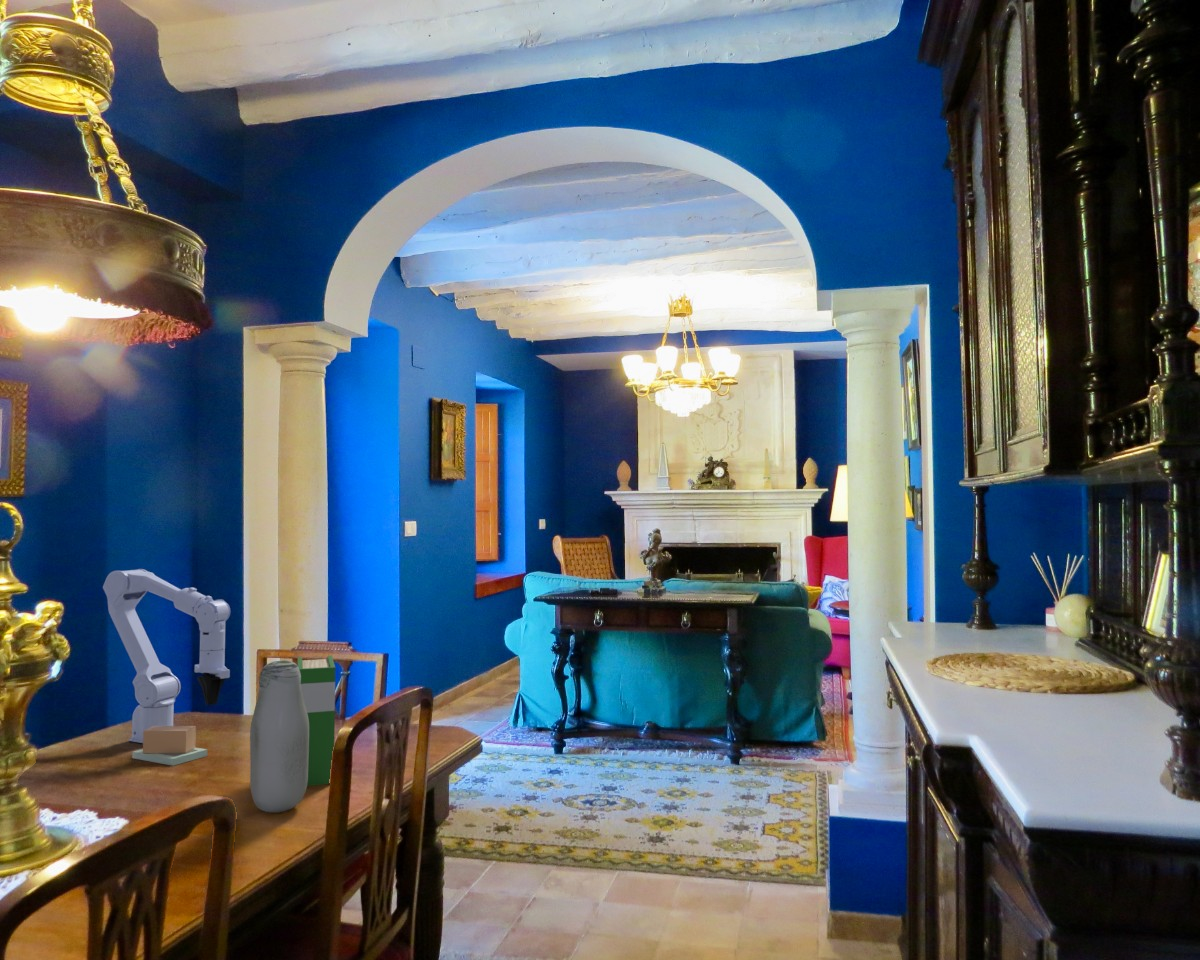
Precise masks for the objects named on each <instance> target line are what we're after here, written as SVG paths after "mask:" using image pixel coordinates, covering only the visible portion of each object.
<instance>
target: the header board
mask: <svg viewBox="0 0 1200 960" xmlns="http://www.w3.org/2000/svg"><path fill="white" fill-rule="evenodd" d="M131 757H132V758H131V759H133V760H135V759H136V760H140V761H147V762H151V763H157V764H162V765H167V766H177V765H180V764H184V763H187V762H191V761H196V760H198V759H201V758H205V757H208V749H207V748H200V747H196V746H195V748H193V749H192V750H190V751H188V752H186V753H143V748H142V749H137V750H134V751H132V756H131Z"/></svg>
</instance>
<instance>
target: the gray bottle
mask: <svg viewBox="0 0 1200 960" xmlns="http://www.w3.org/2000/svg"><path fill="white" fill-rule="evenodd" d="M249 751H250V753H249V754H250V767H249V768H250V770H249V771H250V776H249V777H250V778H249V779H250V781H249V783H250V784H249V785H250V793H251V796H252V799H253V803H254V804H255V806H256V807H257V808H258V809H259V810H261V811H262V812H265V813H267V814H268V813H271V814H272V813H274V814H275V813H282V812H286V811H288V810H291V809H294V808H295V807H296V806H298V805H299V803H300V802H301V801H302V800H303V798H304V797H305V793H306V792H307V787H308V786H307V782H308V756H309V720H308V714H307V710H306V707H305V704H304V700H303V695H302V689H301V673H300V670H299V668H298V663H295V662H293V661H292V660H291V661H290V660H275V661H271V662H269V663H267V664H266V665H264V667H262V669H261V670H260V673H259V677H258V693H257V701H256V702H255V707H254V710H253V715H252V718H251V723H250V731H249Z"/></svg>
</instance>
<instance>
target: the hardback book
mask: <svg viewBox="0 0 1200 960" xmlns="http://www.w3.org/2000/svg"><path fill="white" fill-rule="evenodd" d="M297 666H298V668H299V670H300V673H301V689H302V695H303V700H304V704H305V707H306V710H307V714H308V720H309V756H308V782H307V787H310V786H311V787H312V786H321V785H329V779H330V769H331V760H332V751H333V747H334V748H335V727H336V726H335V720H336V719H335V718H336V715H335V714H336V713H335V711H336V710H335V709H336V665H335V661H334V658H333V655H327V658H322V659H321V658H320V659H304V660H303V656H298V657H297Z"/></svg>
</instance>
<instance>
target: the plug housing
mask: <svg viewBox="0 0 1200 960" xmlns="http://www.w3.org/2000/svg"><path fill="white" fill-rule="evenodd" d="M196 727H197V726H196V725H173V726H153V727H151V728H149V729H147V730H145V731H143V743H142V749H143V753H186V752H188V751H190V750H192V749H193V748H195V747H196V739H197V738H196V737H197V736H196V735H197V734H196V732H197V731H196V730H197V728H196Z"/></svg>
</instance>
